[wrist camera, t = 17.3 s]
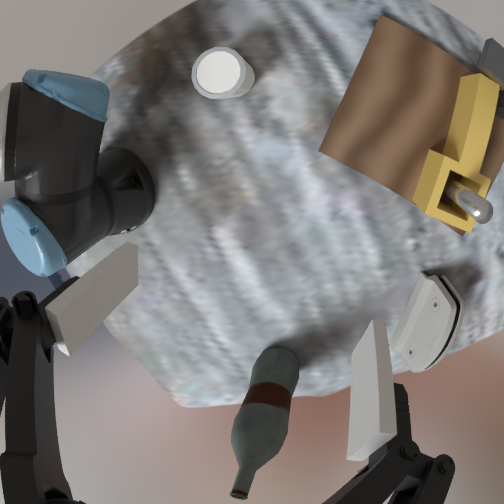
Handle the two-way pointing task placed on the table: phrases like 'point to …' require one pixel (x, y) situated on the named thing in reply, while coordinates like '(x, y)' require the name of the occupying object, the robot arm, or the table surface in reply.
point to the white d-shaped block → (428, 323)
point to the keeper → (494, 69)
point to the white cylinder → (222, 74)
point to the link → (460, 152)
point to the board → (402, 112)
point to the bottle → (263, 415)
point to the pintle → (468, 200)
